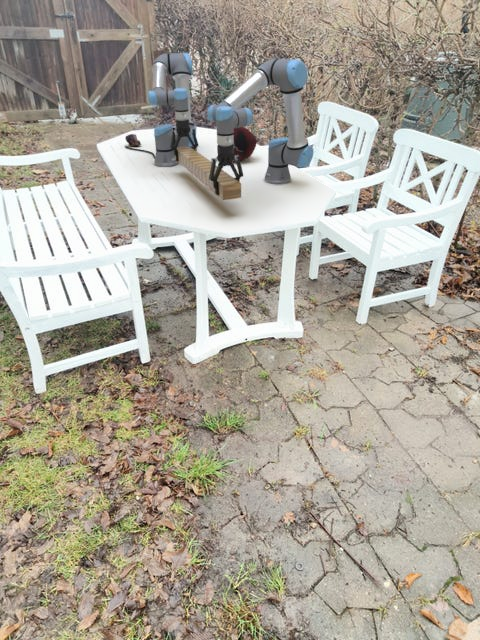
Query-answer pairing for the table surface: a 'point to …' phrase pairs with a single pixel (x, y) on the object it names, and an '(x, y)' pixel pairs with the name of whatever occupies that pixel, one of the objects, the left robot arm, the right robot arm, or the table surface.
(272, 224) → the table surface
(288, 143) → the right robot arm
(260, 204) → the table surface
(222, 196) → the long beam
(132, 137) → the rock
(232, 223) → the table surface
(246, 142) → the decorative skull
